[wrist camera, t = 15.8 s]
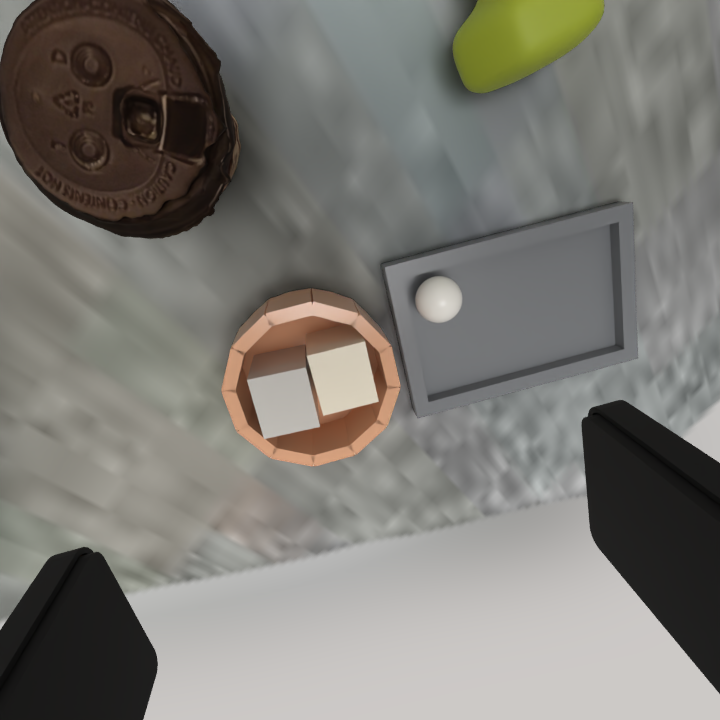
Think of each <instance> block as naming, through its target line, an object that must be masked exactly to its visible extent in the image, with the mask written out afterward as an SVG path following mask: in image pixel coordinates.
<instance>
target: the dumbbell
mask: <svg viewBox="0 0 720 720" xmlns="http://www.w3.org/2000/svg"><path fill="white" fill-rule="evenodd" d="M603 13H604V0H478V1H477V3H476V6H475V8H474V10H473V11H472V13H471V14H470V16H469V17H468V18H467V20H466V21H465V22H464V23H463V25H462V26H461V27H460V29H459V30H458V32H457V34H456V36H455V38H454V42H453V56H454V61H455V64H456V67H457V70H458V72H459V75H460V77H461V80H462V82H463V84H464V86H465V87H466V88H467V89H468V90H469V91H472V92H474V93H487V92H490V91H493V90H496V89H499V88H501V87H504V86H507V85H509V84H511V83H514V82H516V81H518V80H520V79H522V78H524V77H526V76H528V75H530V74H532V73H534V72H536V71H538V70H539V69H541V68H543V67H545V66H547V65H548V64H550V63H552V62H554V61H555V60H557V59H559V58H560V57H562V56H563V55H565V54H566V53H568V52H569V51H571V50H572V49H573V48H575V47H576V46H577V45H578V44H580V43H581V42H582V41H583V40H584V39H585V38H586V37H587V36H588V35H589V34H590V33H591V32H592V31H593V30H594V28H595V27H596V26H597V24H598V23H599V21H600V20H601V17H602V15H603Z"/></svg>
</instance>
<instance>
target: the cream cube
mask: <svg viewBox="0 0 720 720" xmlns="http://www.w3.org/2000/svg"><path fill="white" fill-rule="evenodd" d="M306 352H307V359H308V362H309V366H310V370H311V373H312V377H313V380H314V384H315V388H316V391H317V395H318V398H319V402H320V406H321V409H322V413H323V416H325V415H328V414H332V413H336V412H340V411H344V410H348V409H352V408H356V407H360V406H364V405H368V404H372V403H376V402H379V401H378V396H377V392H376V387H375V383H374V379H373V374H372V370H371V366H370V361H369V357H368V353H367V348H366V344H365V340H364V338H363V336H362V335H361V334H360V333H359V332H358V331H357V330H356V329H355V328H354V327H353V326H352V325H348V324H344V325H340V326H336V327H332V328H328V329H324V330H320V331H316V332H312V333H308V334H306Z"/></svg>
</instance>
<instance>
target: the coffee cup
mask: <svg viewBox="0 0 720 720" xmlns="http://www.w3.org/2000/svg"><path fill="white" fill-rule="evenodd" d="M220 66H221V61H220V60H219V59H218V58H217V55H216V53H215V52H214V51H213V50H212V49H211V48H210V47H209V46H208V44H207V43H206V42H205V41H204V40H203V38H202V37H201V36H200V35H199V33H198V32H197V31H196V30H195V29H194V27H193V26H192V22H191V21H190V20H189V19H188V18H186V17H185V16H184V15H183V14H182V13H181V12H179V10H178V9H177V8H176V7H175V6H174V5H173V4H172V3H170V2H169V1H168V0H35V1H34V2H32V3H31V4H30V5H29V6H28V7H27V8H26V9H25V10H24V11H22V12H21V14H20V15H19V16H18V17H17V18H16V20H15V21H14V23H13V26H12V29H11V31H10V33H9V35H8V36H7V39H6V42H5V44H4V48H3V53H2V57H1V62H0V122H1V125H2V128H3V131H4V134H5V137H6V139H7V141H8V143H9V145H10V146H11V148H12V150H13V152H14V154H15V157H16V159H17V161H18V163H19V164H20V165H21V166H22V168H23V170H24V172H25V173H26V175H27V176H28V177H29V178H30V179H31V180H32V181H33V182H34V184H35V185H36V186H37V187H38V189H39V190H40V191H41V192H42V193H43V194H44V195H45V196H46V197H47V198H48V199H49V200H50V201H52V202H53V203H54V204H55V205H56V206H58V207H59V208H61V209H62V210H64V211H65V212H67V213H69V214H71V215H72V216H74V217H76V218H79V219H81V220H84V221H86V222H88V223H91V224H93V225H95V226H97V227H100V228H103V229H105V230H108V231H110V232H112V233H114V234H117V235H120V236H124V237H141V238H147V239H153V238H165V237H170V236H172V235H177V234H179V233H181V232H183V231H188V230H190V229H191V228H192V227H194V226H197V225H198V224H200V223H201V221H202V220H203V218H205V217H207V216H211V215H212V214H214V212H215V209H214V208H213V207H214V206H215V204H216V202H217V201H218V200H219V196H220V195H221V194H222V192H223V191H224V190H225V188H226V187H227V185H228V184H229V183H230V182H231V178H232V176H233V174H234V172H235V170H236V168H237V163H238V158H239V154H240V149H241V144H240V141H239V131H238V123H237V121H236V119H235V118H234V117H233V115H232V114H231V112H230V108H229V104H228V101H227V97H226V94H225V88H224V84H223V81H222V78H221V75H220V73H219V71H220Z"/></svg>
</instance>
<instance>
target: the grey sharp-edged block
mask: <svg viewBox="0 0 720 720" xmlns="http://www.w3.org/2000/svg"><path fill="white" fill-rule="evenodd" d="M247 382H248V386H249V389H250V392H251V396H252V399H253V403H254V406H255V410H256V413H257V417H258V420H259V424H260V427H261V430H262V434H263V437H264V439H267V438H272V437H276V436H281V435H285V434H290V433H294V432H299V431H303V430H308V429H312V428H317V427H320V420H319V409H318V397H317V393H316V389H315V384H314V380H313V377H312V373H311V370H310V366H309V362H308V359H307V352H306V346H305V344H304V345H299V346H294V347H290V348H285V349H280V350H276V351H271V352H266V353H261V354H257V355H254V356H253V360H252V363H251V367H250V371H249V374H248V378H247Z"/></svg>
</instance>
